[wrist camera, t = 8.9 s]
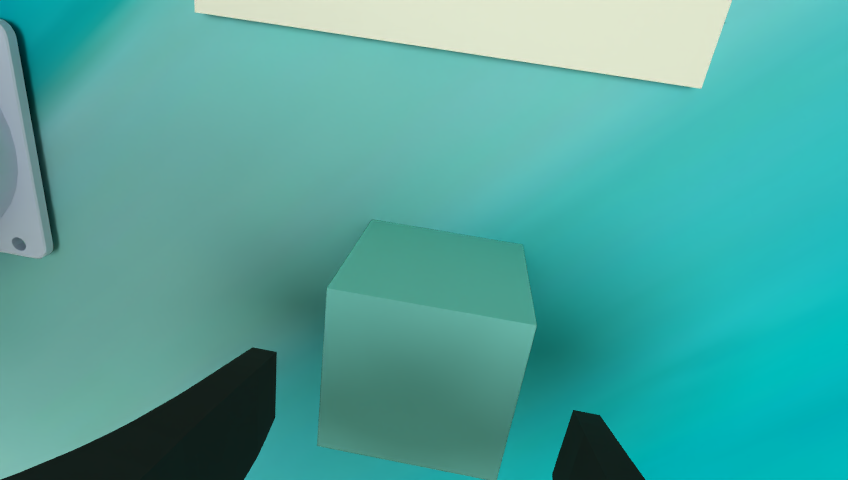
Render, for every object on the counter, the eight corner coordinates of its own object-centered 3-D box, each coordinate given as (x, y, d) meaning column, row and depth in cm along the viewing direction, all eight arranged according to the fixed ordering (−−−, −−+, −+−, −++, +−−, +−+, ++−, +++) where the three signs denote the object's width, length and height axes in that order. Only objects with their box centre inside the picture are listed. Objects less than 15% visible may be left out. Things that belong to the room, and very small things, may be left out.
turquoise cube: (360, 343, 18) (317, 445, 13) (372, 218, 16) (326, 288, 12) (493, 368, 18) (495, 481, 13) (522, 243, 16) (536, 325, 11)
